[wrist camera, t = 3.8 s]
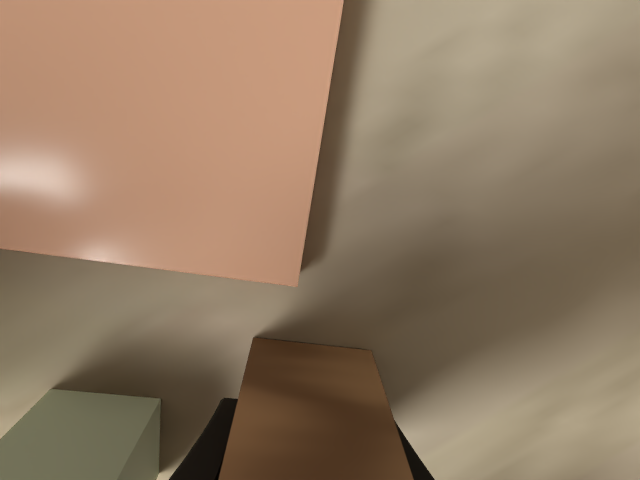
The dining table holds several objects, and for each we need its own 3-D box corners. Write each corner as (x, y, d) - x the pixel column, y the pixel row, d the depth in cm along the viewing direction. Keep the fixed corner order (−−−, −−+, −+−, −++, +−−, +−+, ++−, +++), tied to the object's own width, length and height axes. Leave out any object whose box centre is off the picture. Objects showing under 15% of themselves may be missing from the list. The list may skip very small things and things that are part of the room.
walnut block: (241, 430, 13) (194, 659, 7) (253, 337, 12) (206, 526, 6) (348, 439, 13) (383, 661, 8) (371, 350, 12) (433, 538, 6)
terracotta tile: (-125, 218, 10) (-171, 226, 9) (-293, -454, 6) (-407, -567, 5) (297, 274, 11) (297, 286, 10) (381, -245, 7) (393, -305, 6)
